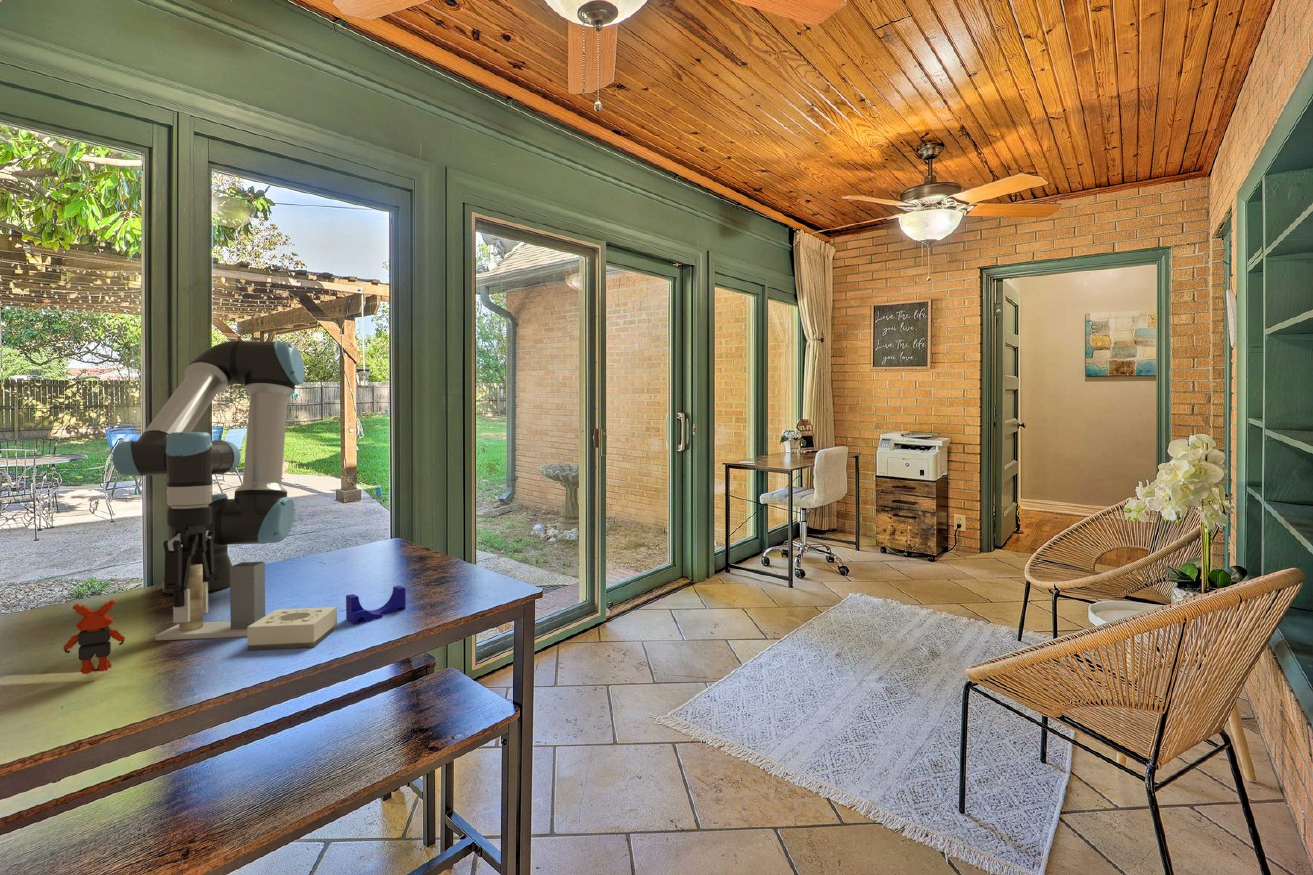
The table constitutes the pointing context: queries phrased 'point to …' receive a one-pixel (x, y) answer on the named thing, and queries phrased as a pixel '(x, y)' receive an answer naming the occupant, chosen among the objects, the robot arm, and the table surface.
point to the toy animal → (94, 637)
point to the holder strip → (202, 632)
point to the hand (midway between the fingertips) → (191, 616)
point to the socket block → (292, 628)
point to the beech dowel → (194, 599)
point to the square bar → (247, 594)
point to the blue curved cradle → (357, 611)
